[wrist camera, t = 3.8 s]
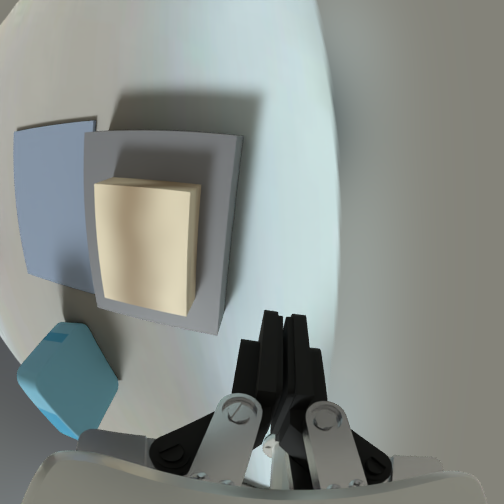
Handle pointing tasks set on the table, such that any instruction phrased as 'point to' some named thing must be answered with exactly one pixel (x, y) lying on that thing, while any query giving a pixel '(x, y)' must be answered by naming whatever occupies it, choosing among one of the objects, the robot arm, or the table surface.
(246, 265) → the table surface
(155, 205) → the birch tile
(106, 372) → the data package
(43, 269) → the slate mat
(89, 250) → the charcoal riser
